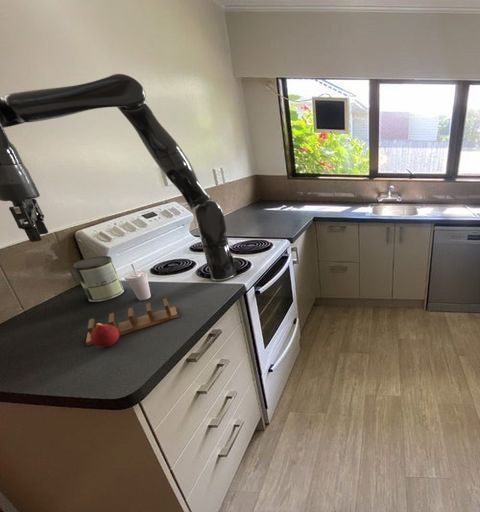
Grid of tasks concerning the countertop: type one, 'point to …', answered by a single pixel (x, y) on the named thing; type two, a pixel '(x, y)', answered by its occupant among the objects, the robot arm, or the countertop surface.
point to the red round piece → (104, 335)
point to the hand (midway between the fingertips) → (40, 237)
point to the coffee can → (98, 278)
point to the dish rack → (136, 320)
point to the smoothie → (139, 283)
